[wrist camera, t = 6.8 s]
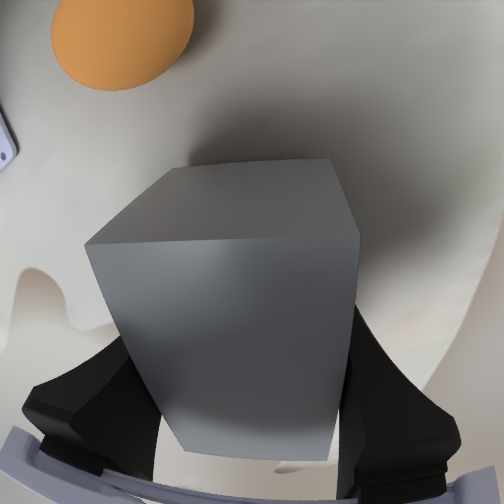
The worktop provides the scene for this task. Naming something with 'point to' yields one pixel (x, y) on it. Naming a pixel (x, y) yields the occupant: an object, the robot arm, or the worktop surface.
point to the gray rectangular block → (237, 302)
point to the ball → (120, 40)
